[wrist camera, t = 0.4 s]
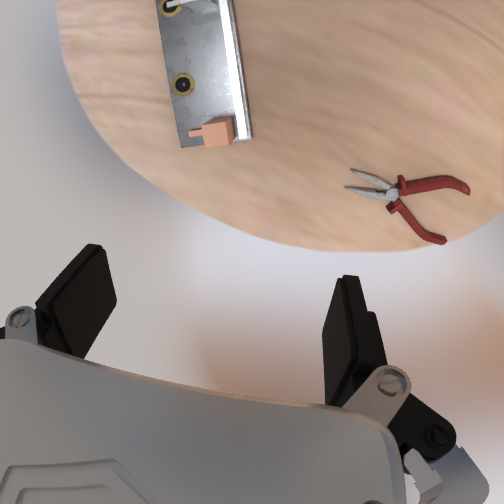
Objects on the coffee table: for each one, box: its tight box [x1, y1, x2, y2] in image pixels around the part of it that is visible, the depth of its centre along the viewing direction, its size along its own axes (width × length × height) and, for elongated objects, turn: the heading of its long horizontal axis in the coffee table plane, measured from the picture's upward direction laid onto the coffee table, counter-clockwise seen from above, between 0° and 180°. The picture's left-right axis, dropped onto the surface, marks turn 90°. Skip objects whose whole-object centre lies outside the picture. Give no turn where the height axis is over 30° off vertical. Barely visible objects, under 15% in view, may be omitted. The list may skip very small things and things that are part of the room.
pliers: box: [344, 169, 470, 245], centre depth 42 cm, size 12×20×3 cm, turn 79°
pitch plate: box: [156, 0, 252, 148], centre depth 33 cm, size 24×10×6 cm, turn 7°
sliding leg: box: [188, 116, 235, 149], centre depth 38 cm, size 3×6×4 cm, turn 97°
